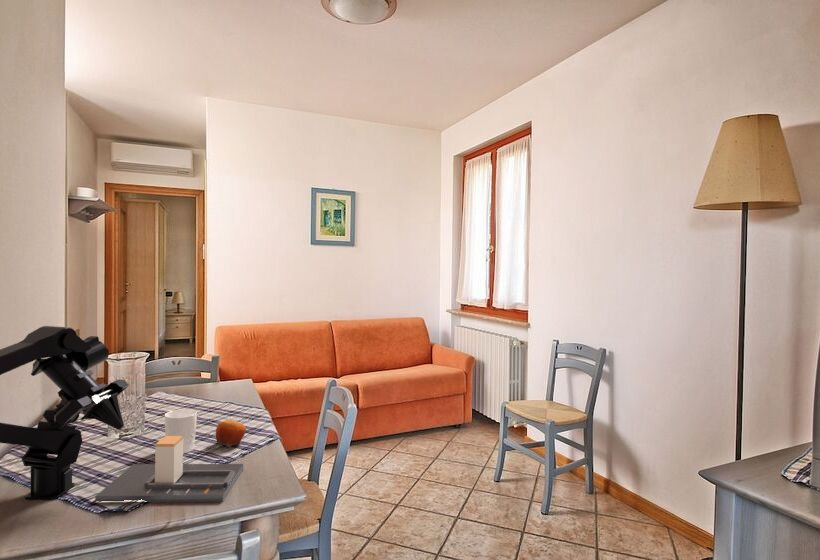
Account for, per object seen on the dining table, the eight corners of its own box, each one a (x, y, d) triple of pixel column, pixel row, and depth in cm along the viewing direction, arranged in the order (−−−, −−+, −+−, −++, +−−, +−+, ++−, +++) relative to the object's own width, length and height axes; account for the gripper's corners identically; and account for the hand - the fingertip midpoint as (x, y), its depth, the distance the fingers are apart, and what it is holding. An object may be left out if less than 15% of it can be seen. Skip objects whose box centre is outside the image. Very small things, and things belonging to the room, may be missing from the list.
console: (95, 503, 99) (95, 492, 99) (133, 470, 115) (133, 461, 115) (223, 501, 101) (223, 491, 101) (243, 469, 117) (243, 460, 117)
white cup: (183, 457, 124) (184, 419, 124) (157, 453, 125) (157, 416, 125) (202, 446, 132) (203, 410, 131) (177, 443, 133) (178, 407, 133)
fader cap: (154, 484, 104) (155, 444, 104) (164, 474, 109) (165, 435, 109) (173, 484, 105) (174, 443, 104) (182, 474, 110) (183, 435, 109)
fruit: (204, 445, 128) (214, 415, 132) (218, 451, 135) (227, 422, 139) (232, 448, 127) (240, 418, 131) (244, 453, 134) (252, 424, 138)
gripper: (71, 391, 114) (118, 437, 115) (10, 416, 95) (67, 470, 96) (105, 359, 114) (152, 406, 115) (52, 378, 96) (107, 433, 97)
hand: (121, 427), depth 106 cm, fingers closed
